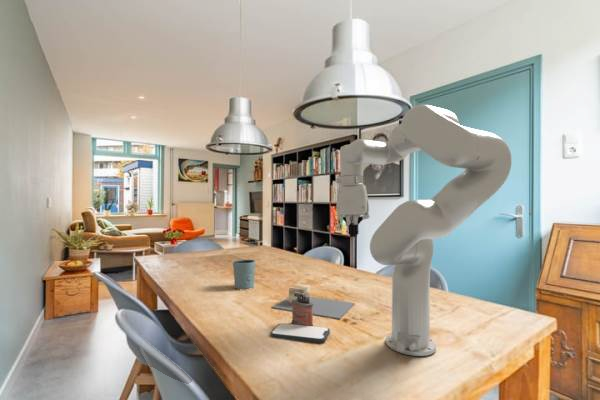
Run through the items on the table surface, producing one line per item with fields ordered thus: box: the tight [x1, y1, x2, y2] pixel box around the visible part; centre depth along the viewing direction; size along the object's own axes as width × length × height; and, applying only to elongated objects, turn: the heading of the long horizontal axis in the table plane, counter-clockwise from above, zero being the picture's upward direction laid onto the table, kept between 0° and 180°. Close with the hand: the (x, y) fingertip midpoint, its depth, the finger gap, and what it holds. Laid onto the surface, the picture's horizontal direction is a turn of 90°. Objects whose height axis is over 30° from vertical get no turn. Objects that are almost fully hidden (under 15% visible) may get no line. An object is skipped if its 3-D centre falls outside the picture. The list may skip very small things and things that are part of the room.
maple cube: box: [288, 284, 311, 304], centre depth 118 cm, size 6×6×6 cm
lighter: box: [291, 292, 314, 326], centre depth 96 cm, size 8×3×10 cm, turn 46°
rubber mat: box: [271, 296, 356, 320], centre depth 115 cm, size 18×26×1 cm
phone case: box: [270, 322, 331, 345], centre depth 90 cm, size 9×2×16 cm
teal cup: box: [232, 259, 256, 290], centre depth 141 cm, size 10×10×12 cm
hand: (353, 236), depth 103 cm, fingers closed
